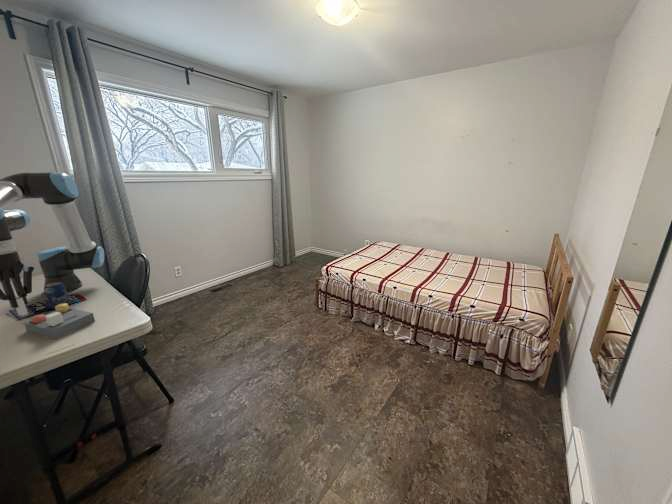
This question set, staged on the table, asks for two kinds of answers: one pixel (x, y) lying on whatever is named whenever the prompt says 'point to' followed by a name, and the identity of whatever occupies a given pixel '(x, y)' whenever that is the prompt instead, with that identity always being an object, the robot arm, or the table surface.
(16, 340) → the table surface
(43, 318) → the button red
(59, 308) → the button ochre
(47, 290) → the soda can
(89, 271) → the table surface
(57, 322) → the slider
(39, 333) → the panel
